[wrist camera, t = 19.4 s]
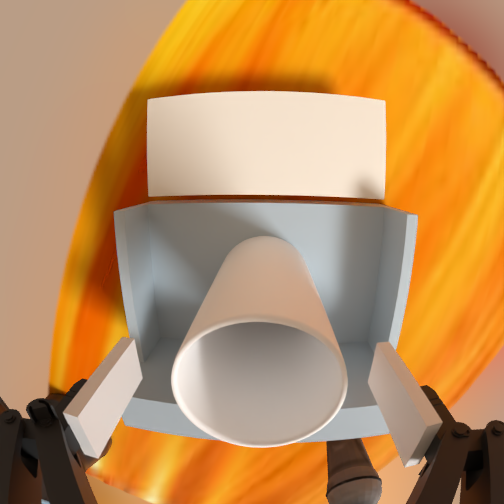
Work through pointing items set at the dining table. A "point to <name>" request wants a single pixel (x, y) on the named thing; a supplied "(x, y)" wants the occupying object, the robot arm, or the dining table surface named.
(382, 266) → the truck bed
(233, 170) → the tailgate
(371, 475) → the beverage cup
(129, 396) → the robot arm
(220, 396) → the cup
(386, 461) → the dining table surface
